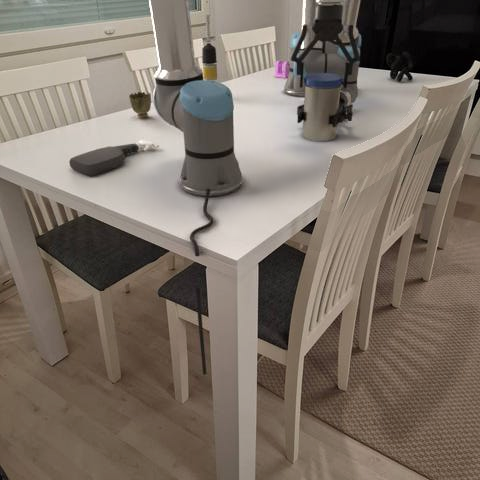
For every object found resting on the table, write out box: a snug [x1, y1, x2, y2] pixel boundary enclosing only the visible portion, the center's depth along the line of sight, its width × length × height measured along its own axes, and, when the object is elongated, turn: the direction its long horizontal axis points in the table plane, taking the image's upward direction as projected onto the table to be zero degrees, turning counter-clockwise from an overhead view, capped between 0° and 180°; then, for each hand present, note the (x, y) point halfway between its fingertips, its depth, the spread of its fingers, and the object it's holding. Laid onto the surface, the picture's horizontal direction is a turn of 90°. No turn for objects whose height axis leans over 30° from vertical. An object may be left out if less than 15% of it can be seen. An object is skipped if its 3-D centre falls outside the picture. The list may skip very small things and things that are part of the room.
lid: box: [304, 73, 343, 88], centre depth 130 cm, size 11×11×2 cm
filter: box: [201, 14, 218, 82], centre depth 171 cm, size 6×6×30 cm
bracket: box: [274, 59, 290, 79], centre depth 212 cm, size 13×6×7 cm, turn 143°
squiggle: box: [385, 51, 414, 83], centre depth 198 cm, size 11×10×15 cm
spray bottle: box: [68, 139, 160, 177], centre depth 124 cm, size 3×11×24 cm
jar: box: [302, 85, 341, 142], centre depth 135 cm, size 10×10×17 cm
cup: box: [128, 91, 152, 119], centre depth 156 cm, size 8×7×8 cm
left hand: (322, 86), depth 131 cm, fingers open, 12 cm apart
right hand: (316, 120), depth 133 cm, fingers closed on jar, 10 cm apart
